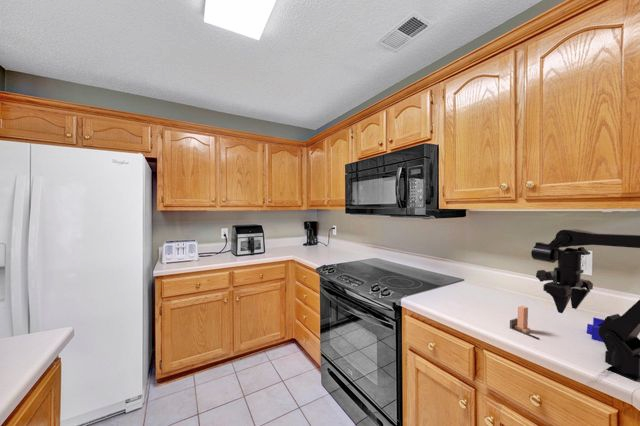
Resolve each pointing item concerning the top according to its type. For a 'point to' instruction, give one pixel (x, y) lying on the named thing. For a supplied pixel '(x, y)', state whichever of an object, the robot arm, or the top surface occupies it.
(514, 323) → the grey block holder
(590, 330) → the cable clip
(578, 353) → the top surface
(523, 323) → the block
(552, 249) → the robot arm
